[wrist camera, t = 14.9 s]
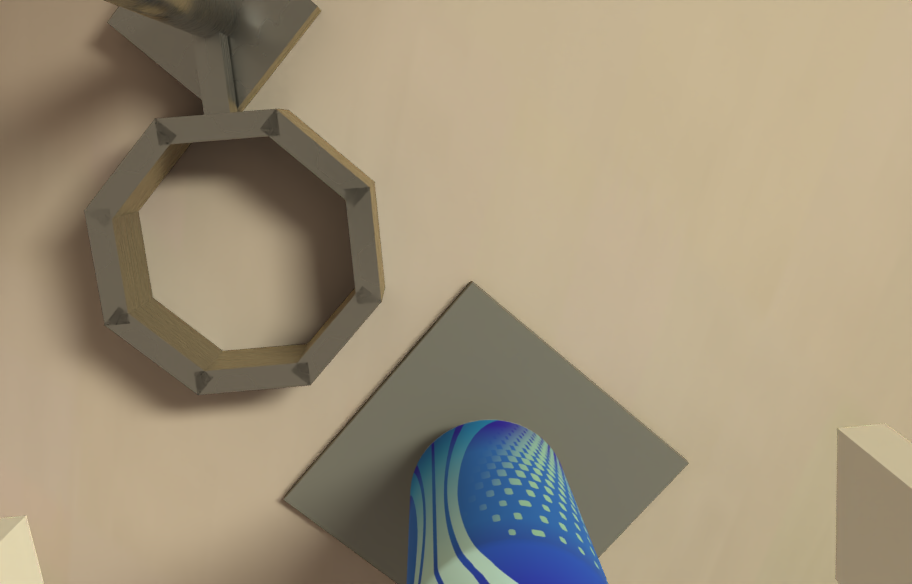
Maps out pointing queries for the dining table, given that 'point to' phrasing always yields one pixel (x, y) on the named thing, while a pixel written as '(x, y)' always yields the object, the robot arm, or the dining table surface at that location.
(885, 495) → the robot arm
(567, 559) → the beer can
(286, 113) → the ring stand
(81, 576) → the dining table surface
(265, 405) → the dining table surface
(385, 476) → the rubber mat
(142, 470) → the dining table surface
